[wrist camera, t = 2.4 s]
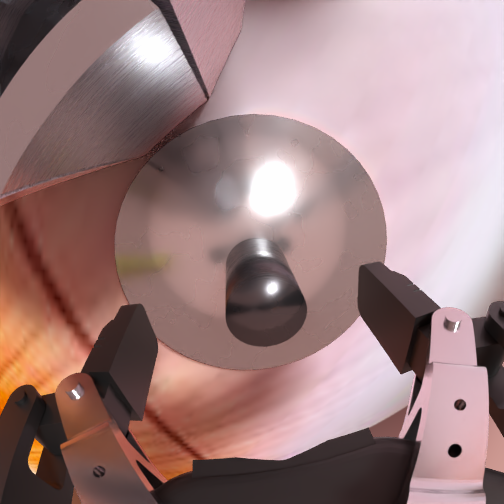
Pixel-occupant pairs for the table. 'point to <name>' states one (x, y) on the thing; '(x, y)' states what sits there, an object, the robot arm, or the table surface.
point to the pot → (101, 81)
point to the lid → (249, 241)
